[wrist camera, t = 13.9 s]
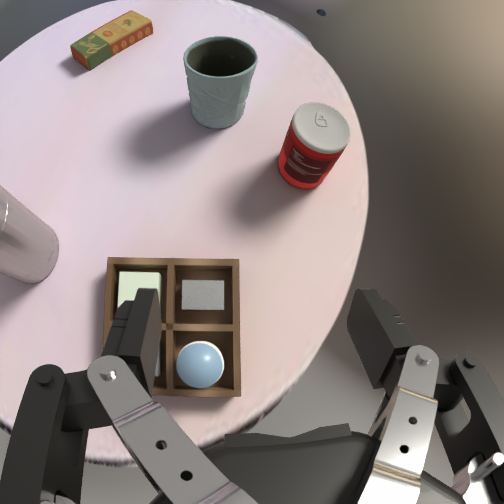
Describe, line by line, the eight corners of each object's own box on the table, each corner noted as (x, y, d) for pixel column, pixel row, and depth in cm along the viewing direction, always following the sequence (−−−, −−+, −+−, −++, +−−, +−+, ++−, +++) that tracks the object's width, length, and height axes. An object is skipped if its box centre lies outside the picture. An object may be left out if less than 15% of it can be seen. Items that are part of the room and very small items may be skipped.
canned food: (314, 143, 49) (336, 99, 39) (333, 186, 47) (361, 147, 37) (269, 150, 48) (283, 103, 37) (286, 195, 46) (306, 154, 36)
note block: (124, 314, 38) (117, 312, 36) (126, 276, 40) (119, 271, 37) (161, 316, 39) (157, 314, 36) (162, 277, 40) (159, 272, 37)
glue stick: (184, 378, 37) (174, 389, 28) (184, 340, 39) (174, 340, 29) (222, 379, 38) (224, 390, 29) (222, 341, 39) (224, 341, 30)
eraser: (123, 371, 36) (117, 373, 34) (123, 340, 38) (117, 340, 35) (161, 373, 37) (157, 376, 34) (161, 342, 38) (157, 342, 35)
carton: (154, 34, 54) (152, 19, 50) (90, 72, 50) (84, 58, 46) (133, 22, 55) (131, 8, 51) (73, 58, 51) (68, 44, 46)
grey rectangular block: (183, 311, 39) (181, 309, 37) (184, 283, 40) (182, 279, 38) (223, 311, 40) (224, 309, 38) (223, 284, 41) (224, 280, 39)
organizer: (112, 386, 36) (104, 390, 33) (115, 263, 41) (107, 257, 37) (238, 391, 38) (241, 396, 35) (237, 265, 42) (239, 259, 39)
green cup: (182, 130, 47) (177, 76, 36) (191, 86, 50) (190, 33, 39) (247, 134, 48) (256, 81, 37) (250, 89, 51) (258, 38, 40)
